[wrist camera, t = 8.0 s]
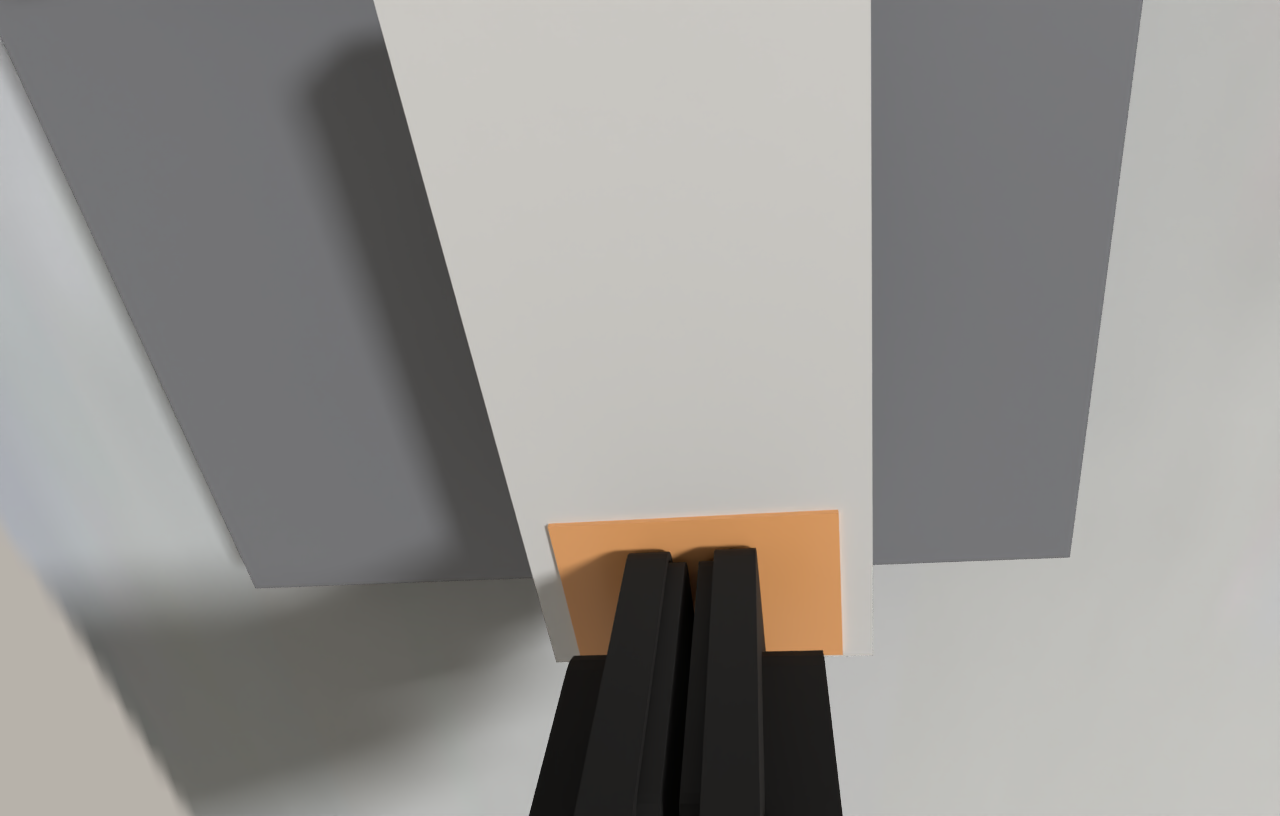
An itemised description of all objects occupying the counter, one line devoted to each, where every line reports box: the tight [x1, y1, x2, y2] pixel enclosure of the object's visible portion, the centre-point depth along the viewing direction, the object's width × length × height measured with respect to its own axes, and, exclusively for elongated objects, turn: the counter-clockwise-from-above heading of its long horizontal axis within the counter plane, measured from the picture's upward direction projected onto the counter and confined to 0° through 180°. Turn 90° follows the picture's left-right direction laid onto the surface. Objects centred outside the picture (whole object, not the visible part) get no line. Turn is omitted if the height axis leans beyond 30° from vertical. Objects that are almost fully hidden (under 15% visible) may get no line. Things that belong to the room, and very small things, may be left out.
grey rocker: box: [373, 0, 873, 662], centre depth 10 cm, size 9×4×1 cm, turn 8°
